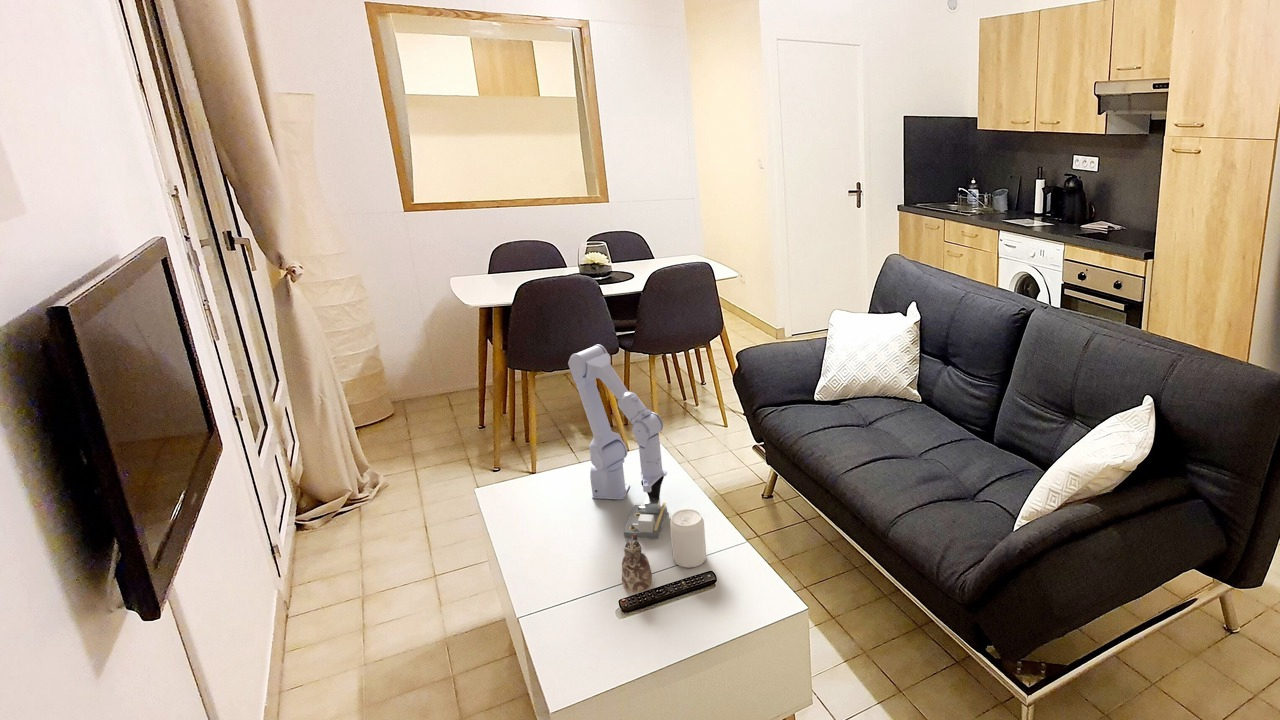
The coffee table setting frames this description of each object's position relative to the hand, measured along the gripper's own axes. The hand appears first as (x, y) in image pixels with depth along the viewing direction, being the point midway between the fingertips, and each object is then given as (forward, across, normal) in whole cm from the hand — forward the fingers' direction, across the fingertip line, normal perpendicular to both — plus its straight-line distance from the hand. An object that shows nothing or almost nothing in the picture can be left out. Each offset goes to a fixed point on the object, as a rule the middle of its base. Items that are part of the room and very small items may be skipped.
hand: (654, 501), depth 191 cm
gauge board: (+3, -6, +1) cm, 7 cm away
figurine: (+3, -30, -2) cm, 31 cm away
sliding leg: (+1, -3, +1) cm, 3 cm away
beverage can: (+3, -20, -13) cm, 24 cm away
